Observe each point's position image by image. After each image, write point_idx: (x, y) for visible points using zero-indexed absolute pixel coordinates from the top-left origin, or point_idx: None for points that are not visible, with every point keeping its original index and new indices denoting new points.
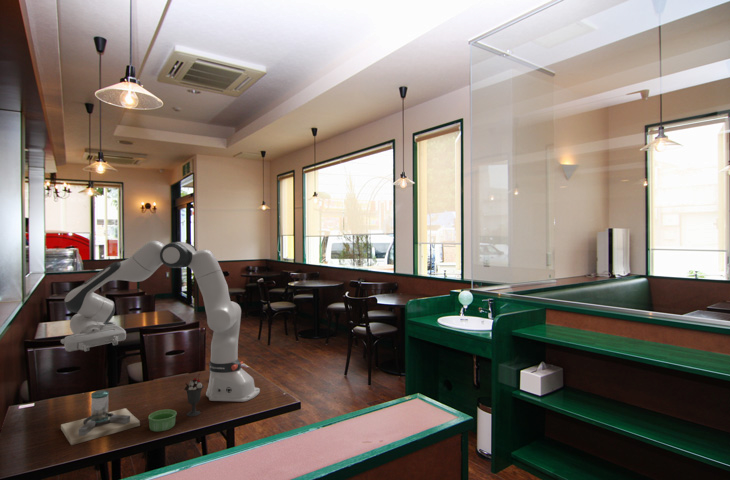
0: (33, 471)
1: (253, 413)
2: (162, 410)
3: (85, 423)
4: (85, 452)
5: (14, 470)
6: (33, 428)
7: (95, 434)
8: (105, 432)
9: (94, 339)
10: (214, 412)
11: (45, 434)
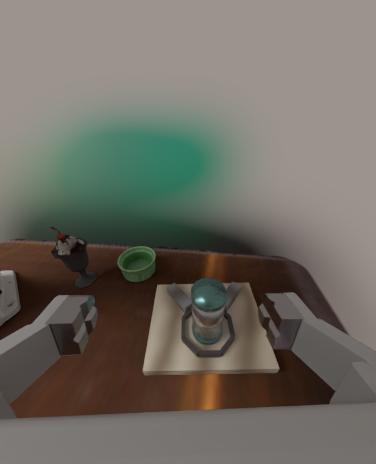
0: (277, 256)
1: None
2: (126, 270)
3: (231, 319)
4: (230, 262)
5: (299, 267)
6: None
7: None
8: None
9: (233, 414)
10: None
11: (301, 362)
